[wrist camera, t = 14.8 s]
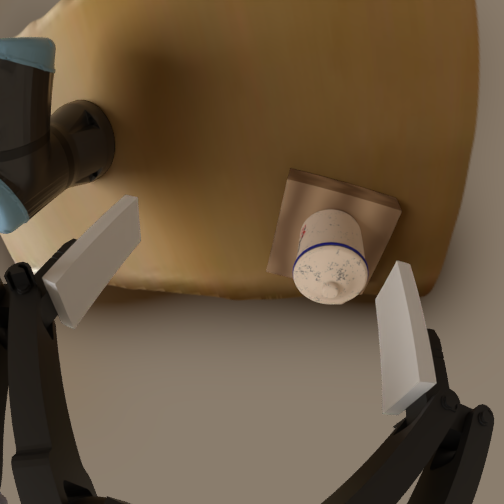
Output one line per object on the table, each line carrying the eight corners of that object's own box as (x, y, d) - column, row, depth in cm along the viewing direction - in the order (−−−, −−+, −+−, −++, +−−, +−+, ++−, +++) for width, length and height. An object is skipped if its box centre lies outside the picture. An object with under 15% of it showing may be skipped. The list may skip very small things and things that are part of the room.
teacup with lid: (290, 213, 41) (278, 268, 32) (356, 200, 38) (365, 254, 29) (312, 279, 47) (306, 338, 38) (369, 270, 44) (376, 330, 35)
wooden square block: (270, 256, 51) (266, 271, 48) (290, 168, 41) (287, 179, 38) (360, 278, 50) (361, 294, 47) (396, 198, 40) (401, 211, 37)
